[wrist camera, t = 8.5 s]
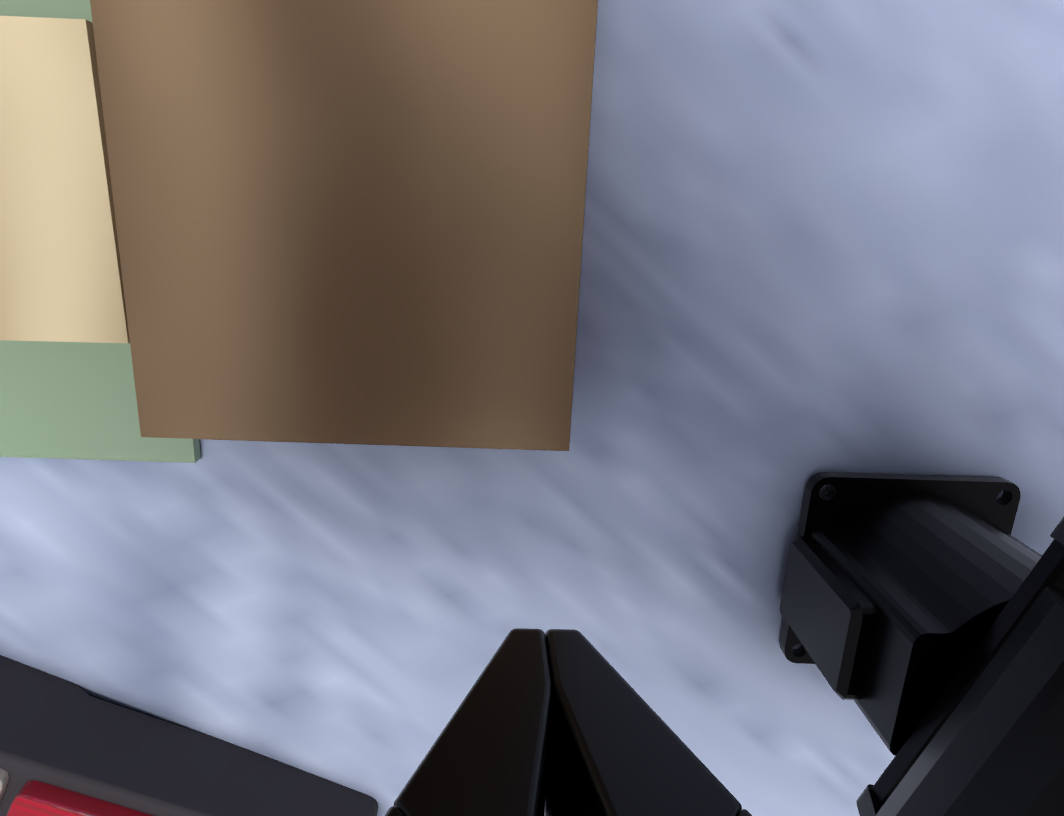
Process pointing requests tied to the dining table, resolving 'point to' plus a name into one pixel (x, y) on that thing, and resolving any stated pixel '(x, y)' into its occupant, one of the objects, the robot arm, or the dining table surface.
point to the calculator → (137, 762)
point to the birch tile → (56, 189)
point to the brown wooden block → (350, 215)
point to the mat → (74, 371)
